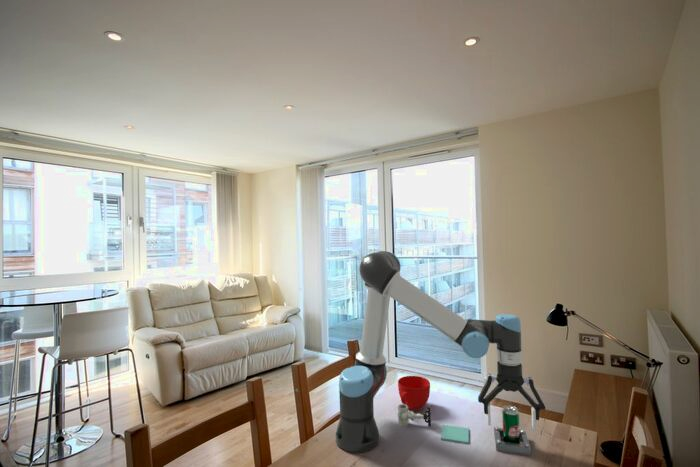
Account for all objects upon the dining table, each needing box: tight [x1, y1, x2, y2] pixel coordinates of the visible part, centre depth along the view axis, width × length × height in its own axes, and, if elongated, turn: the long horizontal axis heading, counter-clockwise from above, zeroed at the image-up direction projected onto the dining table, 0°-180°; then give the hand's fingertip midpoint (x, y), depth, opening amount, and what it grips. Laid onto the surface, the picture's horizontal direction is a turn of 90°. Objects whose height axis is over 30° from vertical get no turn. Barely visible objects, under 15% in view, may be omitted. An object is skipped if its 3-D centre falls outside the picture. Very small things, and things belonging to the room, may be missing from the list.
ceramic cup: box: [397, 375, 431, 411], centre depth 145 cm, size 13×17×10 cm
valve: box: [397, 403, 432, 428], centre depth 133 cm, size 7×7×12 cm
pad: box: [440, 424, 470, 445], centre depth 125 cm, size 9×9×1 cm
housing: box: [493, 426, 532, 457], centre depth 119 cm, size 10×10×3 cm
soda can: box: [501, 404, 521, 444], centre depth 119 cm, size 5×5×12 cm
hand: (511, 426), depth 119 cm, fingers open, 13 cm apart
